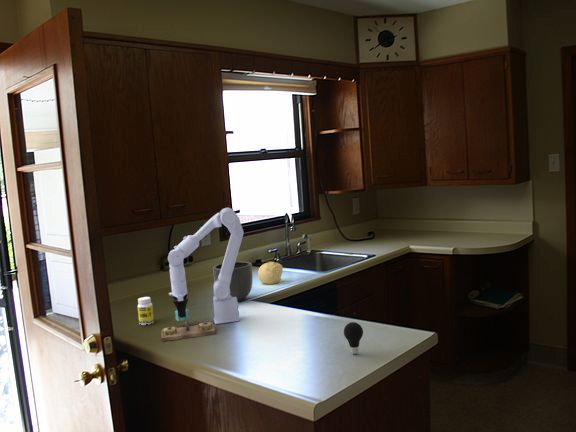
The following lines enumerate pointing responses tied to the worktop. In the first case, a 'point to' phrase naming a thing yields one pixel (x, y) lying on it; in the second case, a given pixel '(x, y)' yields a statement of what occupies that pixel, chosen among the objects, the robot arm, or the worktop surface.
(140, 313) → the supplement bottle
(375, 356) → the worktop surface
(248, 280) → the planter
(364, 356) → the worktop surface
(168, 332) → the gear board
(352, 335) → the light bulb
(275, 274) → the pale yellow round lump
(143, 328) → the worktop surface
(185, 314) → the teal gear
